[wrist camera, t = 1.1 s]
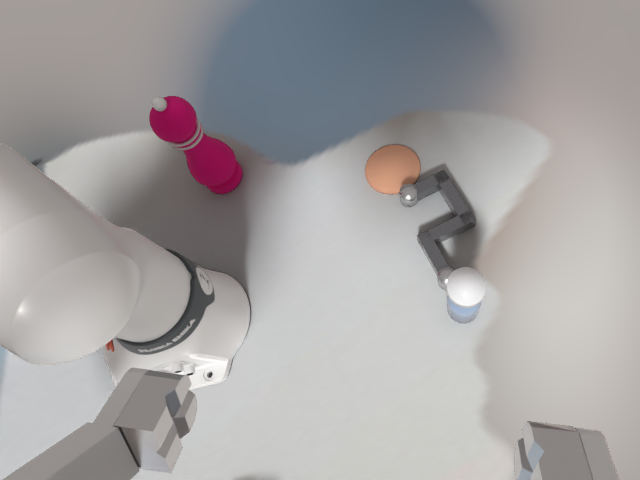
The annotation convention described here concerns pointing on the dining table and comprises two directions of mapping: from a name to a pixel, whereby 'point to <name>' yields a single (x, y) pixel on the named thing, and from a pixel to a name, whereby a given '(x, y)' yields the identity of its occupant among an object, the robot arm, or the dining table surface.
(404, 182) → the coaster
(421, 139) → the dining table surface
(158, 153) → the dining table surface
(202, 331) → the robot arm
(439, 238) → the rail
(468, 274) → the shaker
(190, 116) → the pepper mill
